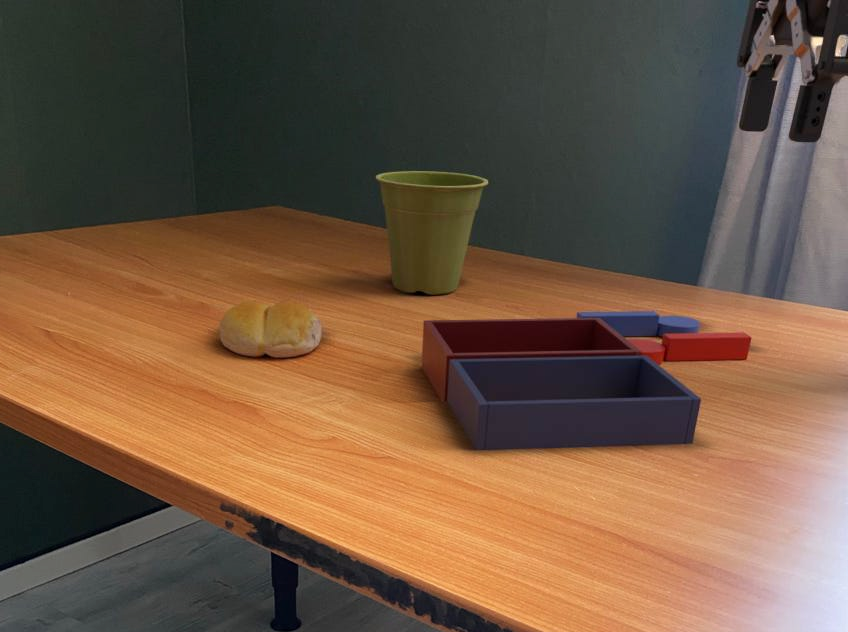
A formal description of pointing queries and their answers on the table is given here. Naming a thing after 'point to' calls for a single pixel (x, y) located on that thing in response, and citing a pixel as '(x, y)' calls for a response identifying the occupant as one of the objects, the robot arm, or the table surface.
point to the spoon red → (696, 346)
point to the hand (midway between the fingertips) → (776, 136)
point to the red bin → (515, 342)
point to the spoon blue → (644, 323)
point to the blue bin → (570, 402)
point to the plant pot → (429, 227)
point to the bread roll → (270, 329)
